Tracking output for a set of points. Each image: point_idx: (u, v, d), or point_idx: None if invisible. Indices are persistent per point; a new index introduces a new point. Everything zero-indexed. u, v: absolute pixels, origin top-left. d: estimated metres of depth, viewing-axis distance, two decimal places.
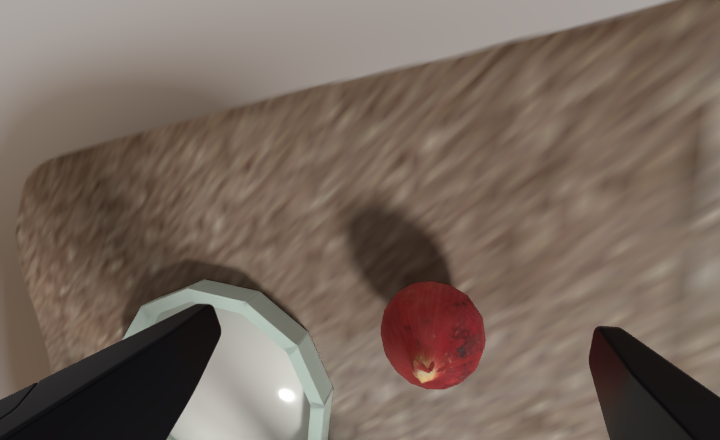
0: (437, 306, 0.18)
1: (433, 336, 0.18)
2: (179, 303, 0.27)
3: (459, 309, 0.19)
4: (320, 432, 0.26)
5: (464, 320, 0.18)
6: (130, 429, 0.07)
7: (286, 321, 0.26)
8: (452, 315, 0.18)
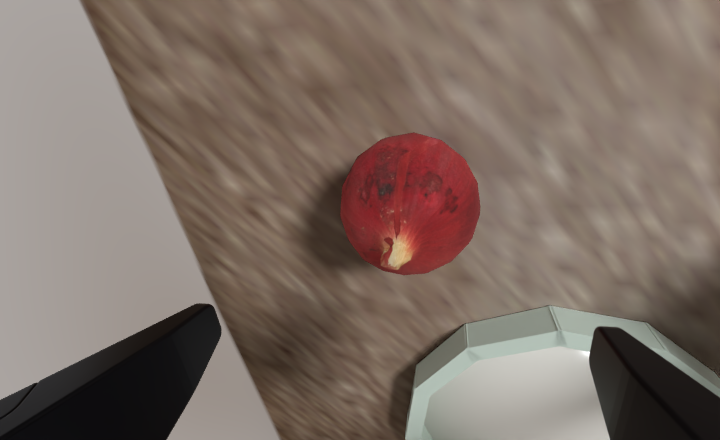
0: (343, 212, 0.14)
1: (363, 229, 0.13)
2: None
3: (350, 181, 0.14)
4: None
5: (359, 178, 0.13)
6: (130, 429, 0.07)
7: (446, 347, 0.22)
8: (351, 194, 0.14)
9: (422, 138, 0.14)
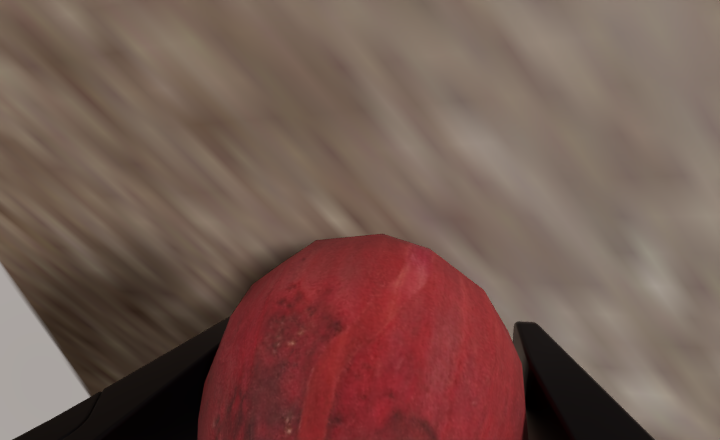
0: None
1: None
2: None
3: (213, 371, 0.06)
4: None
5: (222, 379, 0.05)
6: None
7: None
8: (206, 416, 0.05)
9: (389, 267, 0.06)
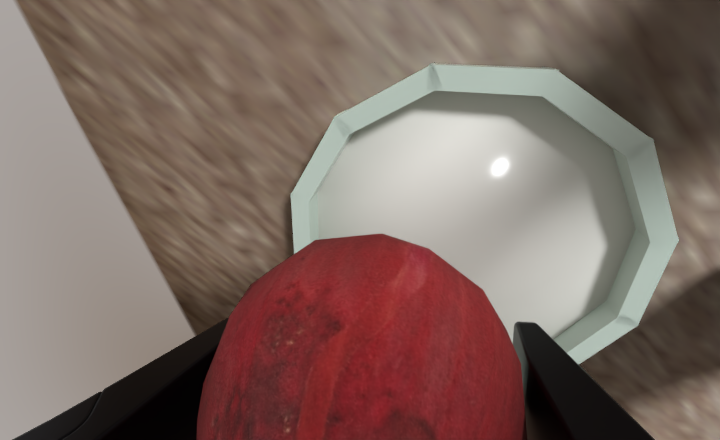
0: None
1: None
2: None
3: (211, 371, 0.06)
4: (487, 69, 0.14)
5: (221, 378, 0.05)
6: None
7: None
8: (205, 415, 0.05)
9: (387, 267, 0.06)
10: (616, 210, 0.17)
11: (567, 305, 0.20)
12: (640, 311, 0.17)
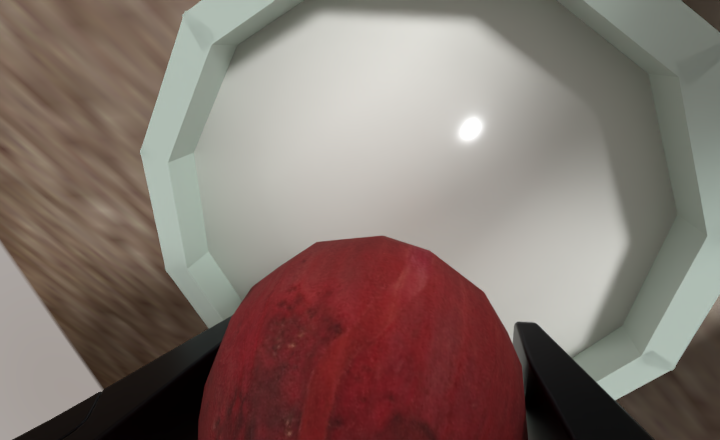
0: None
1: None
2: (198, 289, 0.14)
3: (213, 373, 0.06)
4: None
5: (223, 381, 0.05)
6: None
7: None
8: (206, 418, 0.05)
9: (389, 270, 0.06)
10: (647, 183, 0.10)
11: (563, 330, 0.13)
12: (680, 347, 0.11)
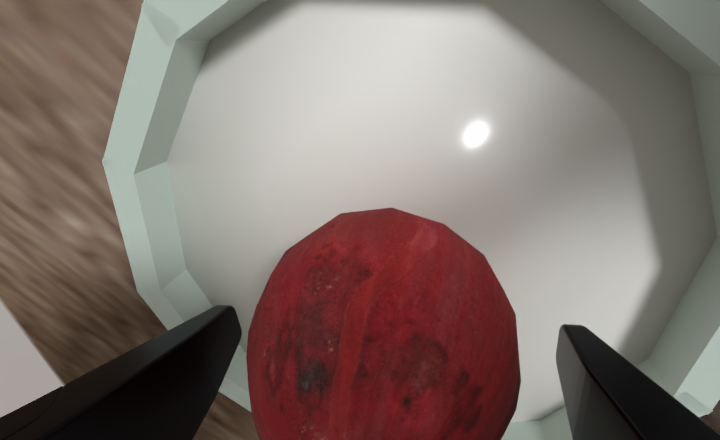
0: None
1: None
2: (173, 312, 0.13)
3: (258, 317, 0.07)
4: None
5: (270, 319, 0.06)
6: (156, 433, 0.07)
7: None
8: (255, 351, 0.07)
9: (405, 231, 0.07)
10: (683, 201, 0.09)
11: None
12: (719, 389, 0.09)
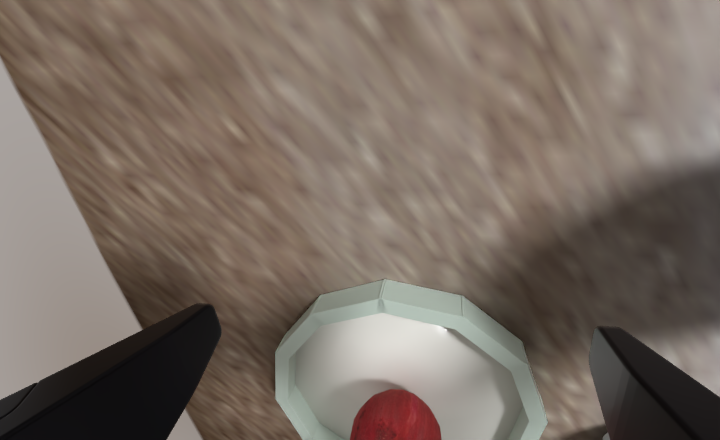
0: None
1: None
2: (292, 409, 0.27)
3: None
4: (418, 308, 0.21)
5: None
6: (130, 429, 0.07)
7: (304, 315, 0.24)
8: None
9: (406, 415, 0.21)
10: (511, 389, 0.23)
11: None
12: None
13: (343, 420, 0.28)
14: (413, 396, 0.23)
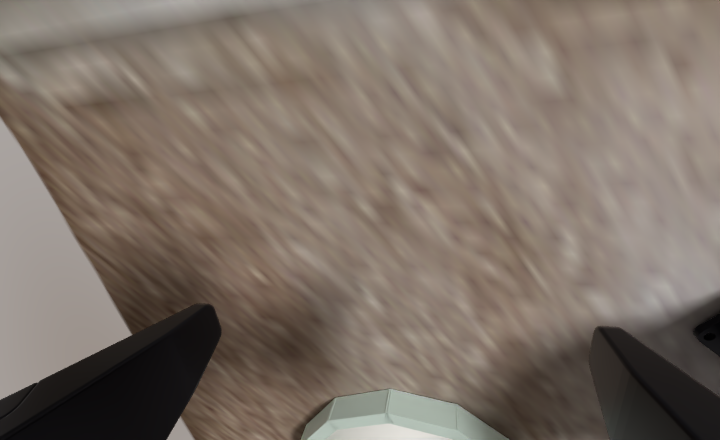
0: None
1: None
2: None
3: None
4: (418, 421, 0.24)
5: None
6: (130, 429, 0.07)
7: (321, 415, 0.28)
8: None
9: None
10: None
11: None
12: None
13: None
14: None
